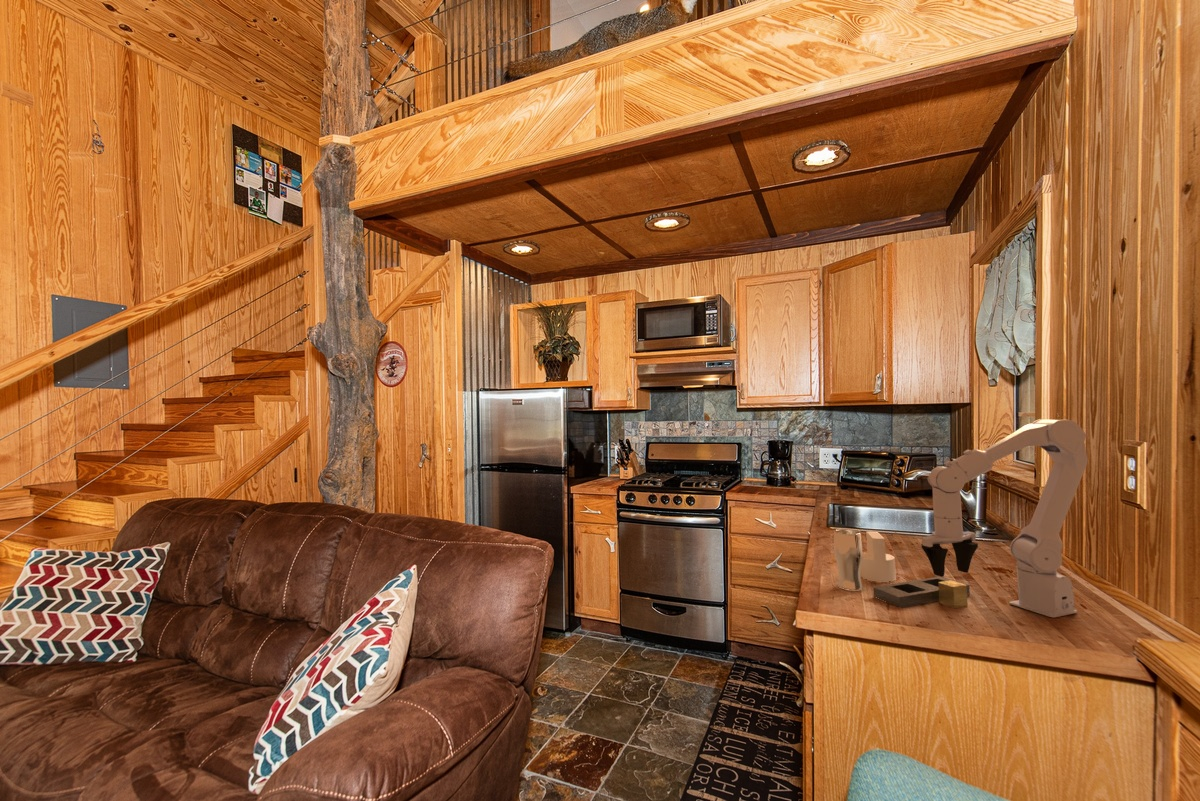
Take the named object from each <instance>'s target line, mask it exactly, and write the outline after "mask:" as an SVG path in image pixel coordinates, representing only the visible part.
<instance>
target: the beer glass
mask: <svg viewBox="0 0 1200 801" xmlns="http://www.w3.org/2000/svg"><path fill="white" fill-rule="evenodd" d="M862 540H863V538H862V532H861V531H860V530H856V529H850V528H838V529H835V530H833V549H834V550H833V552H834V556H835V559H836V560H835V562H836V565H837V569H838V582H837V587H838V586H839V587H841V588H844V589H849V590H861V589H863V590H864V585H863V582H862V578H861V564H862V555H863V553H864V552H863V541H862ZM839 587H838V588H839ZM861 591H862V590H861Z"/></svg>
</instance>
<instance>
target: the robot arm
mask: <svg viewBox="0 0 1200 801" xmlns="http://www.w3.org/2000/svg"><path fill="white" fill-rule="evenodd" d="M1087 435H1088V434H1086V432H1085V431H1084V430H1083V428H1081V426H1080V425H1079V423H1077V422H1076V421H1074V420H1072V419H1071V420H1070V419H1067V418H1065V419H1048V418H1047V419H1046V418H1039V419H1036V420H1035V421H1033V422H1032V423H1028V424H1025V425H1023V426H1021V427H1020V428H1018V429H1017V430H1016V431H1014V432H1012V433H1010V434H1008V435H1007V436H1005V437H1003V438H1002V439H1001V440H999V441H997V442H996V443H994V444H992V445H990V446H988V447H986V448H985V449H983V450H981V449H975V448H974V449H966V450H964V451H963V452H962V453H963V455H961V456H959V457H957V458H955V459H954V460H952V461H951V460H947V461H945V462H944V464H945V465H944V466H941V465H940V466H936V467H934V468H933V469H931V471H930V472H929V474H928V476H927V482H928V484H929V485H930V486H931V487H932V507H933V511H932V512H933V524H934V527H933V528H934V531H932V532H931V534H929V535H927V536H923V537H921V544H920V545H921V546H920V548H921V549H922V550H923V552H924V553H925V555H926V557H927V558H928V560H929V563H930V567H931V568H932V572H933V575H934V576H937V577H939V576H941V577H945V568H946V567H945V564H946V558H947V554H948V551H949V549H948V548H944V547H943V546H942V545H947V544H951V546H952V547H953V550H954V554H955V561H956V567H957V570H958V571H959V572H962V573H969V570H970V566H971V562H972V559H973V556H974V555H975V552H977V550H978V548H979V544H978V543H977V542H976V541H977V540H976V532H973V531H964V529H963V526H964V525H963V514H962V498H961V490H963V489H964V486H965V484H967V483H968V482H971V481H972V480H974V479H976V478H978V477H980V476H982V475H984V474H986V473H988V472H989V471H991V470H992V469H993V466H994V464H995V463H994V462H997V461H998V460H1001V459H1003V458H1005V457H1007V456H1009V455H1012V454H1014V453H1016V452H1018V451H1020V450H1023V449H1025V448H1026V447H1040V448H1041V449H1043V450H1044V451H1045V452H1046V453H1047V454H1048V455H1049V457H1050V458H1051V459H1052V461H1053V465H1052V467H1051V470H1050V472H1049V474H1048V478H1047V480H1046V482H1045V485H1044V487H1043V489H1042V492H1041V494H1040V497H1039V500H1038V503H1037V506H1036V508H1035V510H1034V513H1033V516H1032V517H1031V520H1030V522H1029V524H1028V525H1026V526H1024V527H1023V528H1021V529H1020V532H1019V533H1018V535H1017V536H1016V537H1015V538H1014V539H1013V540H1011V542H1010V545H1009V551H1010V553H1011V555H1012V557H1013V558H1015V559H1016V563H1015V564H1016V577H1017V579H1016V580H1017V594H1018V600H1011V601H1009V605H1012V606H1015V607H1018V608H1020V609H1021V608H1022V609H1025V610H1027V611H1030V612H1034V613H1037V614H1040V615H1042V616H1046V617H1050V618H1052V619H1053V618H1058V617H1063V616H1069V615H1073V614H1076V613H1078V610H1077V609H1075V598H1074V597H1075V596H1074V586H1073V583H1072V581H1071V579H1070V578H1069V577H1068V576H1065V575H1063V574H1061V573H1059V572H1058V571H1057V570H1059V568H1061V567H1062V564H1063V556H1062V550H1063V548H1064V543H1063V541H1062V538H1061V537H1060V533H1061V530H1062V527H1063V526H1064V522H1065V520H1066V518H1067V514H1068V513H1069V510H1070V507H1071V505H1072V502H1073V500H1074V498H1075V495H1076V492H1077V490H1078V488H1079V485H1080V482H1081V480H1082V478H1083V475H1084V473H1085V470H1086V468H1087V465H1088V462H1089V461H1088V460H1089V459H1088V454H1087V449H1086V445H1085V444H1086V443H1085V441H1086V438H1087Z"/></svg>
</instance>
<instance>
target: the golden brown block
mask: <svg viewBox="0 0 1200 801" xmlns="http://www.w3.org/2000/svg"><path fill="white" fill-rule="evenodd" d="M952 580H953V579H951V580H949V581H943V582H938V587H939V601H938V602H939V604H942V605H944V606H947V607H949V608H952V609H960V608H965V607H968V603H969V602H968V596H967V588H966V585H965V584H966V583H964V584H962V583H963V582H961V583H958V582H959V581H957V582H955V581H956V580H954V581H952Z"/></svg>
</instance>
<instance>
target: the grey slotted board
mask: <svg viewBox="0 0 1200 801" xmlns="http://www.w3.org/2000/svg"><path fill="white" fill-rule="evenodd" d="M949 580H952V581H955V582H958V583H962V584H965V585H966V588H967V597H968V596H971V595H970V592H971V591H970V585H969V584H966V583H965V582H964V583H963V582H960V581H957V580H953V579H950V578H948V577H945V576H943V577H941V576H934V577H933V576H932V577H928V578H921V579H916V580H910V581H903V582H896V583H891V584H890V583H889V584H885V585H881V586H880V585H879V586H873V588H872V589H873V590H872V591H873V598H875V597H877V598H879V599H881V600H880V601H882V600H884V601H886V602H885V603H887V602H888V603H887V604H889V603H890V604H889V605H892V604H893V605H892V606H894V605H895V606H894V607H897V608H899V607H900V608H899V609H901V608H907V606H908V607H912V606H919V605H923V604H928V603H934V602H939V587H938V582H943V581H949ZM877 598H876V599H877ZM879 599H878V600H879ZM884 601H883V602H884Z"/></svg>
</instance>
